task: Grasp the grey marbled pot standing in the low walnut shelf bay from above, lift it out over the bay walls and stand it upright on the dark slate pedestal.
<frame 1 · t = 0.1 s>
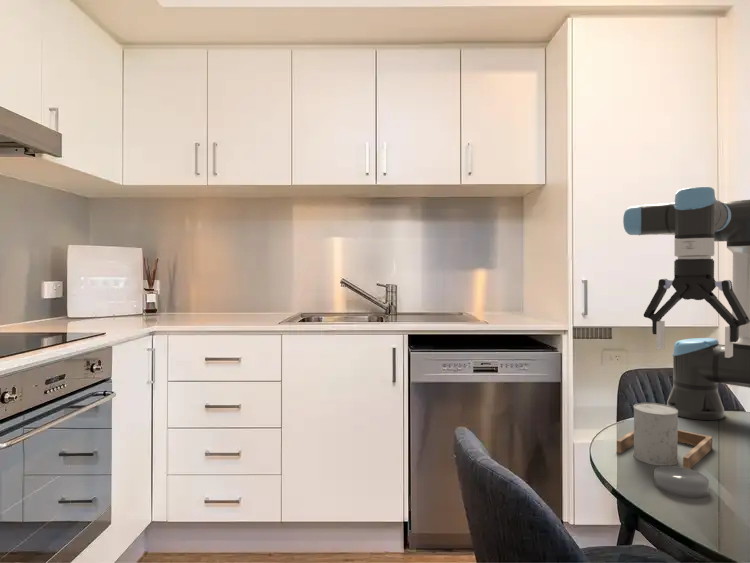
hand: (693, 352, 113), 28 cm above the table, fingers open, 13 cm apart
grey marbled pot: (655, 458, 124), on the table
shelf bay: (664, 450, 128), on the table
pedestal: (680, 487, 108), on the table
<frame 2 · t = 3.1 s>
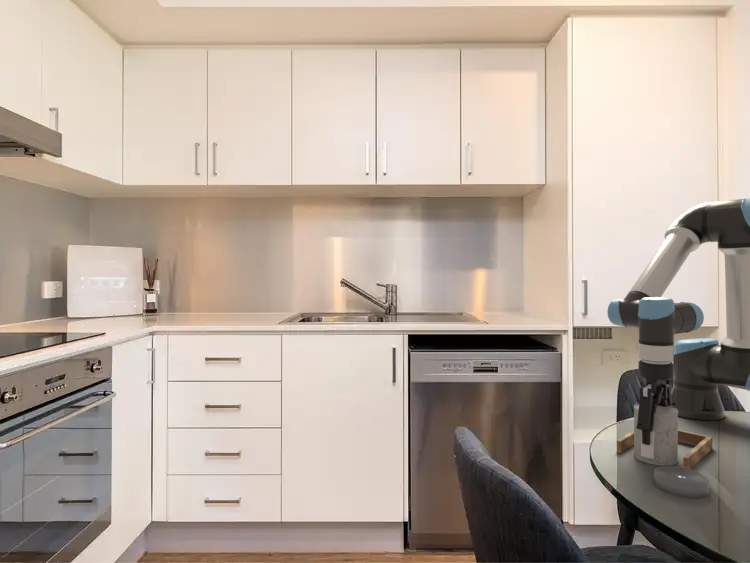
hand: (655, 451, 124), 2 cm above the table, fingers closed on grey marbled pot, 9 cm apart
grey marbled pot: (655, 458, 124), on the table, touching gripper
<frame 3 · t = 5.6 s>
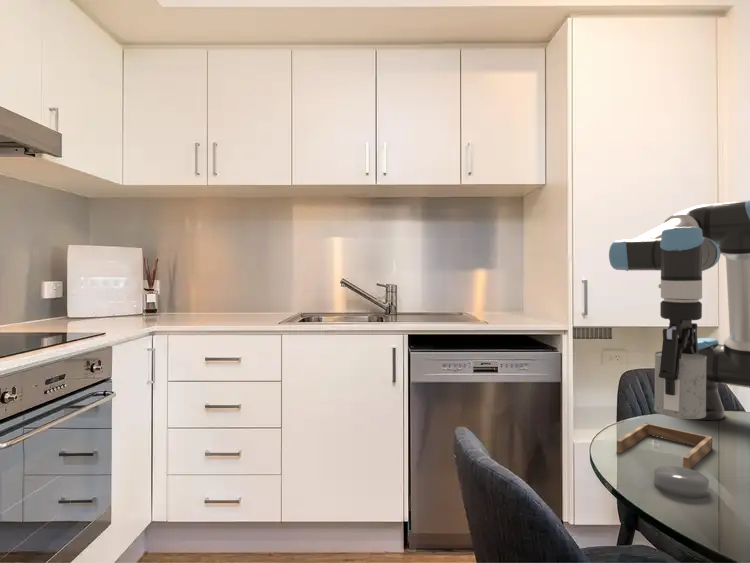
hand: (679, 404, 108), 18 cm above the table, fingers closed on grey marbled pot, 9 cm apart
grey marbled pot: (679, 412, 108), point 16 cm above the table, touching gripper
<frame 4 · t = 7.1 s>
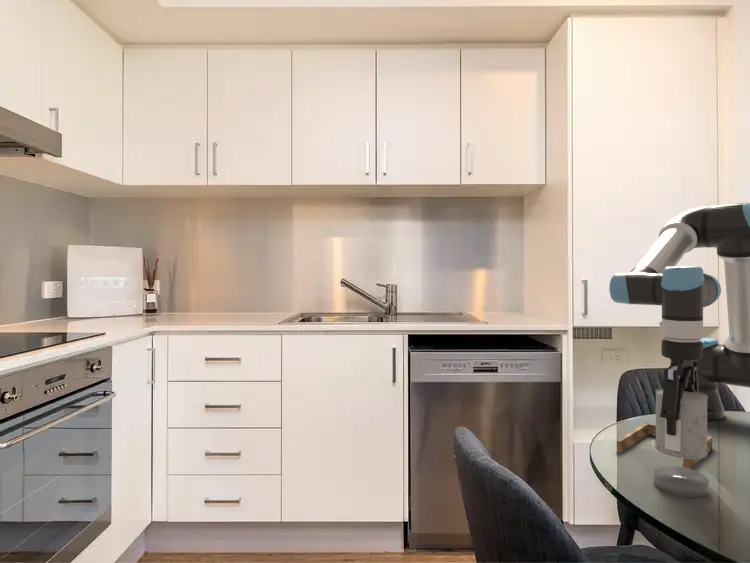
hand: (680, 443, 108), 10 cm above the table, fingers closed on grey marbled pot, 9 cm apart
grey marbled pot: (680, 451, 108), point 8 cm above the table, touching gripper
when the fingers open (5 cm above the table, at t = 8.4 s): grey marbled pot drops 1 cm, resting on pedestal.
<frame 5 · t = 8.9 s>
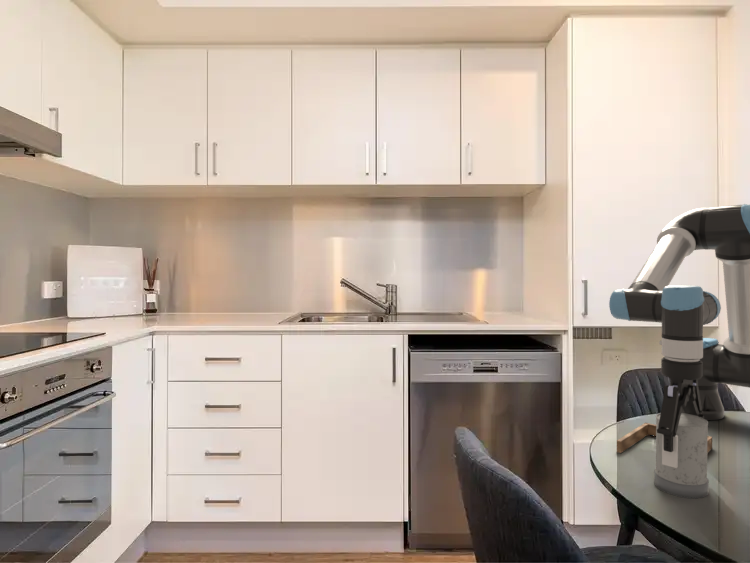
hand: (680, 456, 108), 7 cm above the table, fingers open, 13 cm apart
grey marbled pot: (680, 476, 108), point 2 cm above the table, touching pedestal
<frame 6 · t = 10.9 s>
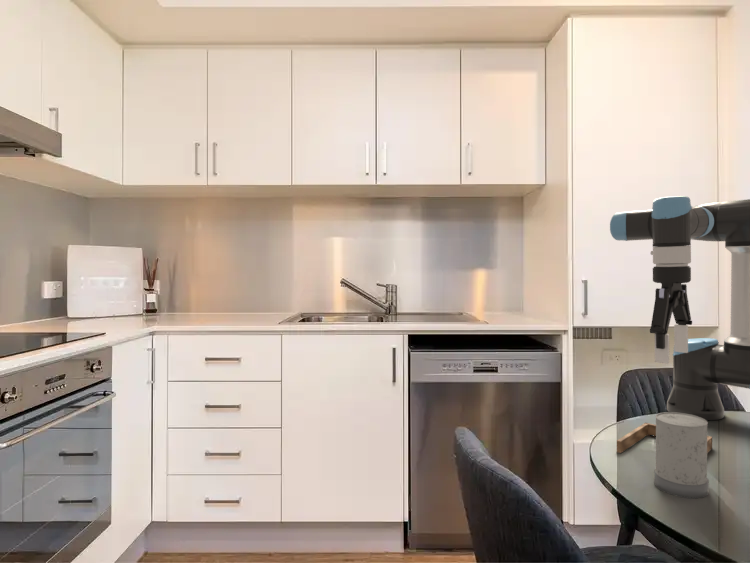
hand: (671, 357, 116), 26 cm above the table, fingers open, 13 cm apart
nothing on the table moved.
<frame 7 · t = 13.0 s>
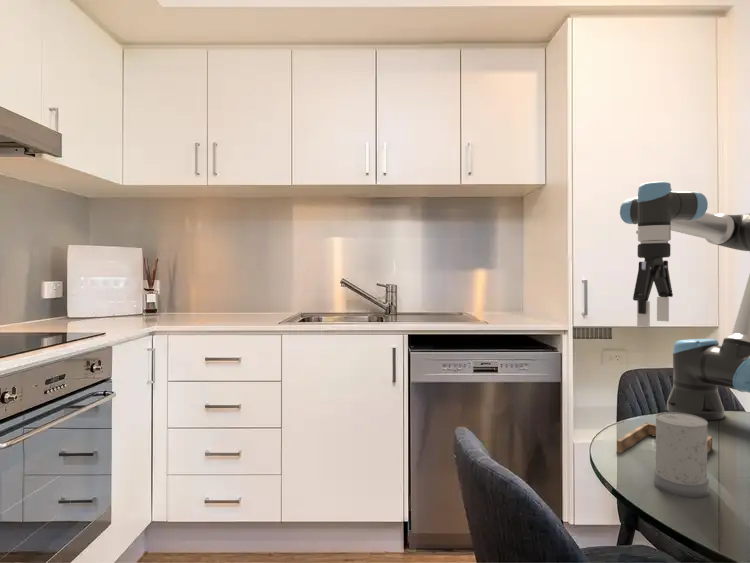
hand: (653, 323, 132), 32 cm above the table, fingers open, 13 cm apart
nothing on the table moved.
at the end: grey marbled pot 0.1 cm from the pedestal (horizontally); grey marbled pot tilted 0°; grey marbled pot touching pedestal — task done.
